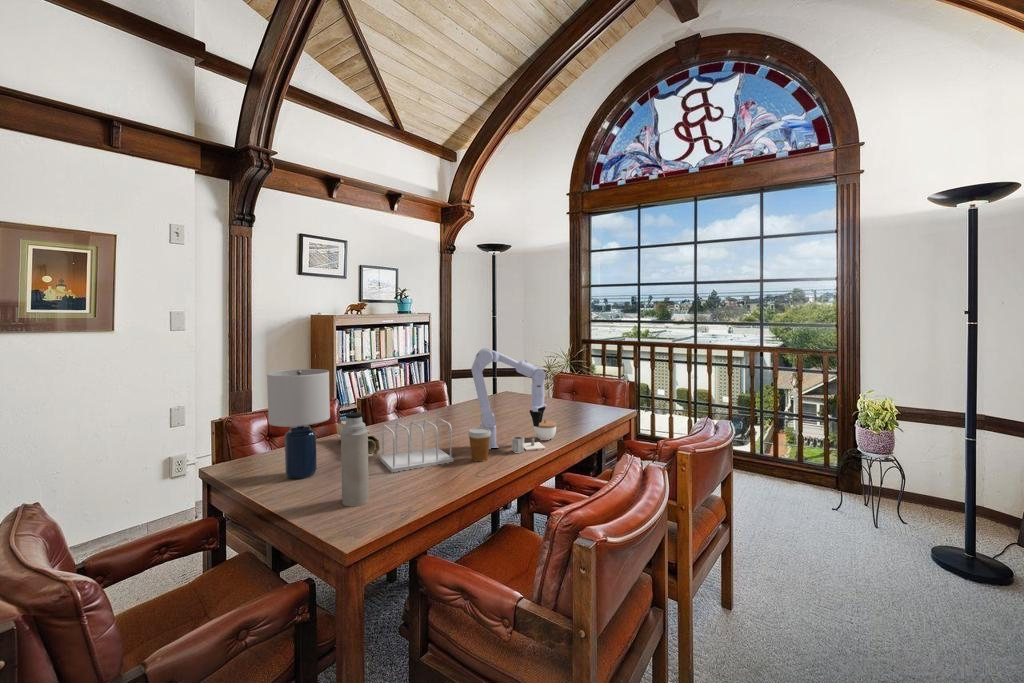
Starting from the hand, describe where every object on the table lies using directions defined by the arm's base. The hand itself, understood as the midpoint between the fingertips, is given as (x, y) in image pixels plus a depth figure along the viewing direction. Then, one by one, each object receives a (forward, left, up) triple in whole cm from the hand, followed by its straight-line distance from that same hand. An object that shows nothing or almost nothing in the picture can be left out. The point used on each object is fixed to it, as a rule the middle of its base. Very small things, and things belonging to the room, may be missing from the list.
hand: (537, 424), depth 204 cm
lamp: (-96, -14, -10) cm, 98 cm away
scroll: (-79, +18, -10) cm, 82 cm away
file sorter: (-54, -9, -10) cm, 56 cm away
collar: (-11, -7, -10) cm, 16 cm away
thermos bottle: (-75, -44, -10) cm, 87 cm away
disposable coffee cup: (-29, -13, -10) cm, 33 cm away
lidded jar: (+7, +9, -10) cm, 15 cm away
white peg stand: (-3, -3, -10) cm, 11 cm away
